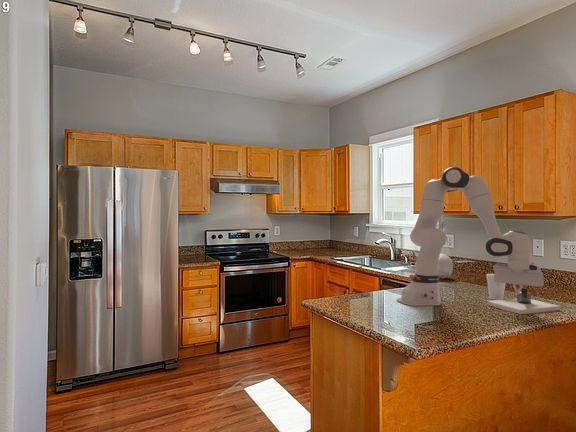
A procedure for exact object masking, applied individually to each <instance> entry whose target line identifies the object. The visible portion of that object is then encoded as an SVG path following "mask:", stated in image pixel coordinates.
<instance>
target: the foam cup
mask: <svg viewBox="0 0 576 432" xmlns="http://www.w3.org/2000/svg"><path fill="white" fill-rule="evenodd" d="M486 281H487V282H486V283H487V289H488V290H487V291H488V297H489V300H491V301H493V300H504V296H505V295H504V294H505V290H506V289H505V288H506V284H507V283H498V282H495V281H494V273H487V274H486Z"/></svg>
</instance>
